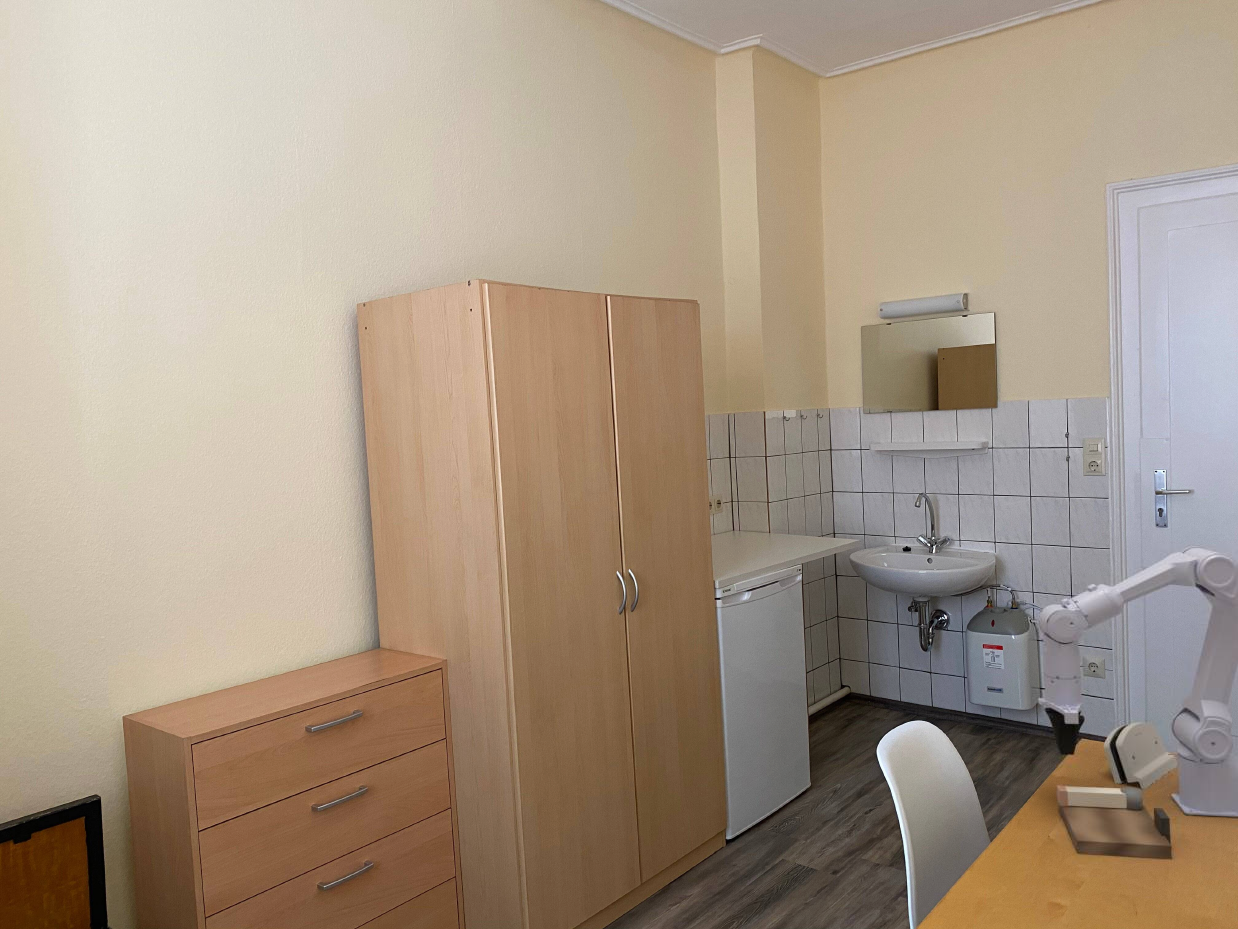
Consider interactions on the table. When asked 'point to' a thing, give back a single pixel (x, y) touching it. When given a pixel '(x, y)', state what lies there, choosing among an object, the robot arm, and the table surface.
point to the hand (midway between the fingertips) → (1066, 752)
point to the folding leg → (1100, 797)
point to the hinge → (1137, 754)
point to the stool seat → (1118, 831)
